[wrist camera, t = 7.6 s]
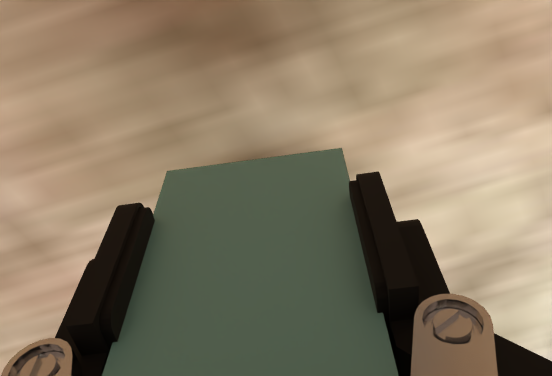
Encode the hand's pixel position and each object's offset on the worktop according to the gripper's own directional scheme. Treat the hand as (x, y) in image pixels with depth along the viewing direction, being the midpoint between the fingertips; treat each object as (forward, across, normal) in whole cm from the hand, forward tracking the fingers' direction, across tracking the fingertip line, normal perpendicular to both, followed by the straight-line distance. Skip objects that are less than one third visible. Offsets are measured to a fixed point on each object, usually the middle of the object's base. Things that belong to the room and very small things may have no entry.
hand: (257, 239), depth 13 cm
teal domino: (+3, 0, 0) cm, 3 cm away
